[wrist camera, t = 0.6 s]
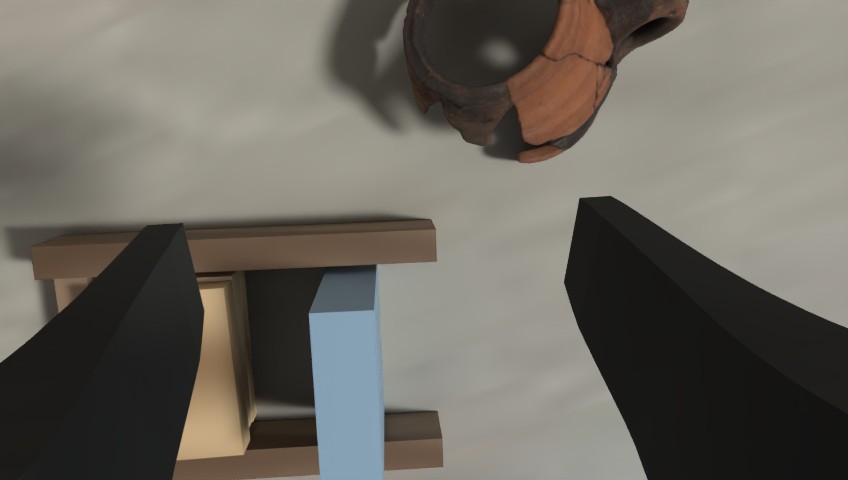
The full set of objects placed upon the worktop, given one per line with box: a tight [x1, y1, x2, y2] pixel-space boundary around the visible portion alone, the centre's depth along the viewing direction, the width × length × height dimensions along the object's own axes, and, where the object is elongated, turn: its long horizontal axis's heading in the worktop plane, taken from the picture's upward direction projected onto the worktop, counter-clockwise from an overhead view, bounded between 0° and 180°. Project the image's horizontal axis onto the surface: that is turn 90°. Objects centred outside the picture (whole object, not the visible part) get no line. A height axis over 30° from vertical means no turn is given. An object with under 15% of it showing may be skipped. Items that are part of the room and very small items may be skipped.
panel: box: [309, 264, 384, 480], centre depth 29 cm, size 8×2×9 cm, turn 2°
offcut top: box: [177, 280, 250, 460], centre depth 30 cm, size 8×6×2 cm
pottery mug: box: [403, 0, 689, 163], centre depth 29 cm, size 12×9×8 cm
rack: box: [30, 220, 443, 480], centre depth 32 cm, size 12×18×3 cm, turn 92°
